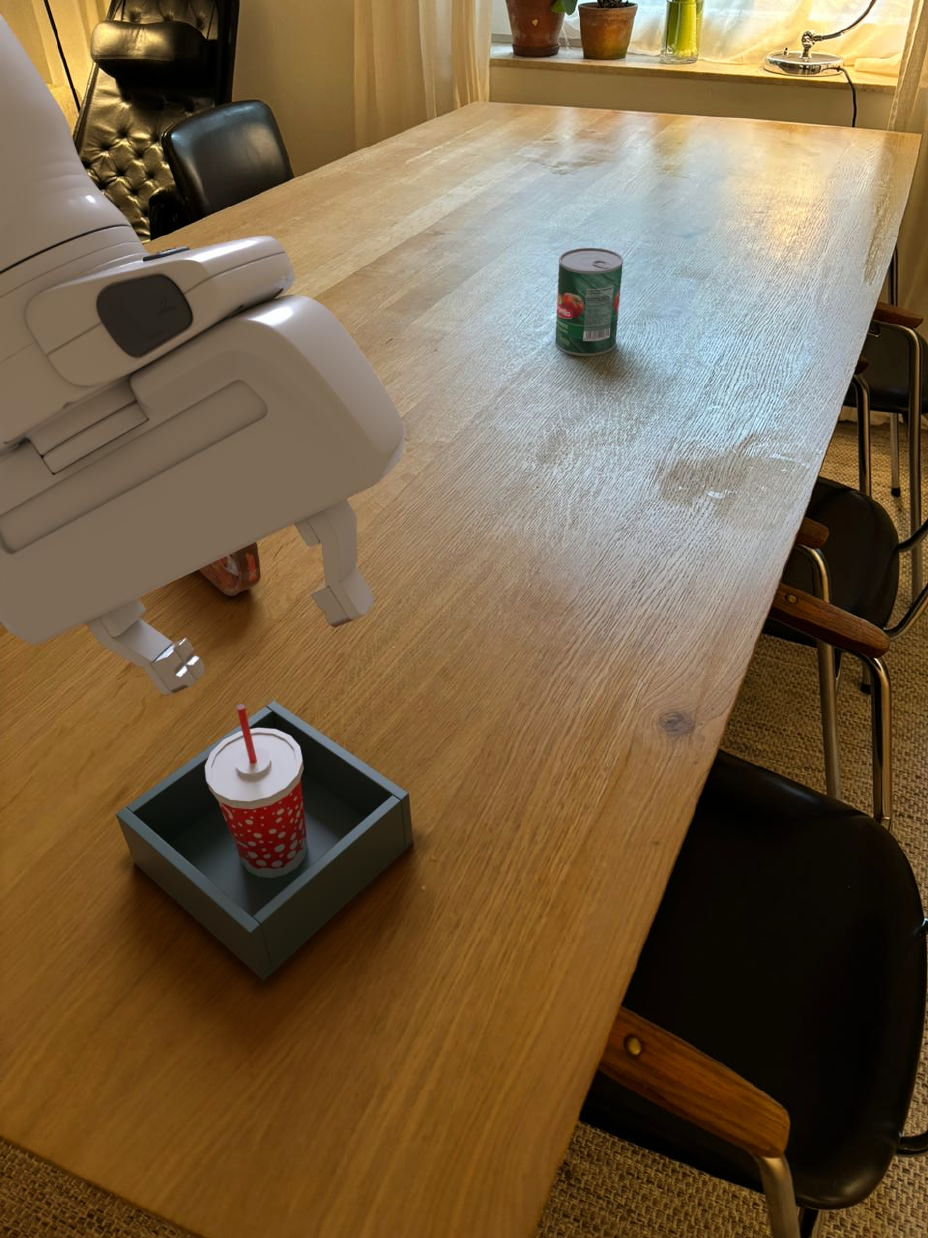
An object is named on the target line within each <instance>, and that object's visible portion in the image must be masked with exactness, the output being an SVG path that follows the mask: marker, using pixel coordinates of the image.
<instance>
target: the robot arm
mask: <svg viewBox="0 0 928 1238" xmlns="http://www.w3.org/2000/svg"><path fill="white" fill-rule="evenodd" d="M295 279H296V274H295V269H294V265H293V263H292V260H291V259H290V257H289V255H288V253H287V252H286V249H285V248H284V247H283V245H282V244H281V243H280V241H278V240H277V238H275V237H273V236H269V235H257V236H251V237H249V236H248V237H243V238H239V239H233V240H229V241H224V242H219V243H216V244H211V245H205V246H201V247H198V248H197V247H196V248H192V249H191V248H190V247H189V246H187V245H185V246H181V247H180V246H179V247H173V248H167V249H165V250H161V251H157V252H156V253H150V252H148V251H147V249H146V247H145V246H144V244H143V243H142V241H141V239H140V238H139V235H137V233H136V231H135V230H134V228H133V226H132V224H131V223H130V221H129V220H128V218H127V217H126V216H125V214H124V213H122V212H121V210H120V209H119V208H118V207H117V206H116V205H115V204H114V203H113V202H111V200H110V199H108V197H107V196H106V195H104V193H103V192H102V191H101V190H100V189H99V188H98V186H97V185H96V184H95V183H94V181H93V179H92V178H91V176H90V175H89V173H88V172H87V170H86V168H85V166H84V164H83V163H82V160H81V159H80V156H79V154H78V151H77V149H76V146H75V142H74V139H73V135H72V131H71V128H70V125H69V122H68V120H67V118H66V115H65V114H64V112H63V110H62V108H61V106H60V105H59V102H58V101H57V100H56V98H55V96H54V95H53V93H52V91H51V90H50V88H49V87H48V85H47V83H46V82H45V80H44V79H43V76H42V75H41V73H39V70H38V68H37V67H36V66H35V64H34V62H33V61H32V60H31V58H30V56H29V54H28V53H27V51H26V50H25V49H24V46H23V44H21V42H20V40H19V39H18V38H17V36H16V34H15V33H14V32H13V30H12V28H11V27H10V25H9V24H8V22H7V21H6V19H5V18H4V16H3V15H2V14H1V13H0V623H1V624H2V626H3V627H4V629H6V630H7V631H8V633H10V634H12V635H13V636H15V637H17V638H19V639H20V640H23V641H24V642H26V643H28V644H30V645H33V646H39V645H42V644H45V643H46V642H49V641H51V640H52V639H55V638H57V637H59V636H61V635H63V634H65V633H68V632H70V631H71V630H74V629H76V628H78V627H80V626H83V625H84V624H85V625H86V627H87V628H88V629H89V631H90V632H91V634H92V635H93V637H94V638H95V639H96V641H97V642H98V644H99V645H101V646H102V647H103V648H106V649H107V650H109V651H110V652H112V653H114V654H116V655H118V656H119V657H121V658H123V659H124V660H126V661H128V662H129V663H131V664H132V665H135V666H136V667H138V668H142V669H143V671H144V672H145V673H146V675H147V676H148V677H149V679H150V680H151V682H152V683H153V685H154V686H155V688H156V689H157V690H158V692H159V693H160V694H161V695H162V696H165V697H168V696H171V695H174V694H177V693H179V692H181V691H183V690H186V689H188V688H190V687H192V686H194V685H195V684H196V682H197V681H198V680H199V679H201V678H202V676H204V674H205V670H206V669H205V665H204V662H203V660H202V659H201V658H200V657H199V656H197V655H196V653H195V648H194V646H193V645H192V644H191V642H190V641H189V640H188V638H187V637H185V638H183V639H180V640H177V641H175V642H173V641H172V640H170V639H169V638H168V637H166V636H165V635H163V633H161V632H160V631H158V630H157V629H155V628H154V627H153V626H152V625H150V624H149V623H147V622H146V621H144V620H143V619H142V617H143V616H144V615H145V614H147V609H146V608H145V606H144V604H143V603H142V602H141V600H140V599H139V598H141V597H143V596H145V595H148V594H150V593H151V592H154V591H156V590H158V589H160V588H162V587H164V586H167V585H169V584H170V583H173V582H174V581H177V580H179V579H181V578H183V577H186V576H187V575H190V574H192V573H193V572H195V571H199V570H198V569H200V568H202V567H204V566H206V565H208V564H211V563H213V562H215V561H217V560H219V559H221V558H223V557H225V556H227V555H230V554H232V553H234V552H236V551H238V550H240V549H242V548H244V547H246V546H248V545H251V544H253V543H255V542H259V541H261V540H263V539H265V538H267V537H270V536H271V535H274V534H276V533H278V532H280V531H282V530H284V529H286V528H289V527H291V526H292V525H294V527H295V528H296V531H298V533H299V535H300V537H301V538H302V539H303V541H304V543H305V544H306V546H307V547H310V548H313V547H315V546H317V545H319V544H321V551H322V561H323V562H322V564H323V574H324V579H323V580H322V581H321V584H319V585H318V586H317V587H316V588H314V590H313V591H312V593H310V596H311V598H312V599H313V601H314V602H315V604H316V606H317V607H318V609H319V610H321V611H323V612H324V619H325V621H326V623H328V624H329V625H330V626H331V627H333V628H338V627H341V626H343V625H346V624H348V623H350V622H353V621H356V620H358V619H361V618H363V617H365V616H366V615H367V614H368V613H369V611H370V610H371V609H372V608H373V606H374V605H375V599H374V593H373V592H372V590H371V588H370V586H369V584H368V583H367V581H366V579H365V578H364V576H363V573H361V571H360V570H359V567H358V566H357V563H358V516H357V514H356V512H355V510H354V508H353V507H352V505H351V503H350V502H349V500H348V499H349V498H352V497H353V496H356V495H358V494H360V493H362V492H364V491H367V490H368V489H370V488H373V487H374V486H376V485H377V484H379V483H380V482H381V481H382V480H383V479H384V478H385V477H387V475H388V474H389V473H391V472H392V470H394V468H396V466H397V465H398V464H399V463H400V461H401V459H402V458H403V456H404V455H403V454H404V448H405V440H406V439H405V438H406V428H405V427H406V426H405V424H404V420H403V419H402V416H401V414H400V412H399V410H398V408H397V407H396V405H395V403H394V401H393V399H392V398H391V396H390V394H389V392H388V390H387V389H386V387H385V386H384V384H383V382H382V381H381V378H380V377H379V376H378V374H377V373H376V371H375V370H374V368H373V366H372V365H371V363H370V362H369V360H368V359H367V357H366V356H365V354H364V352H363V351H362V350H361V349H360V347H359V346H358V344H357V343H356V341H355V340H354V338H352V336H351V334H350V333H349V332H348V330H347V329H346V328H345V327H344V325H343V323H342V322H340V320H339V319H338V318H337V317H336V315H334V313H332V312H331V311H330V310H329V309H328V308H327V307H326V306H325V305H323V304H322V303H320V302H319V301H317V300H316V299H314V298H311V297H309V296H305V295H301V294H286V293H287V292H288V291H289V290H291V288H292V286H293V285H294V283H295ZM285 294H286V295H285Z"/></svg>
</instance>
